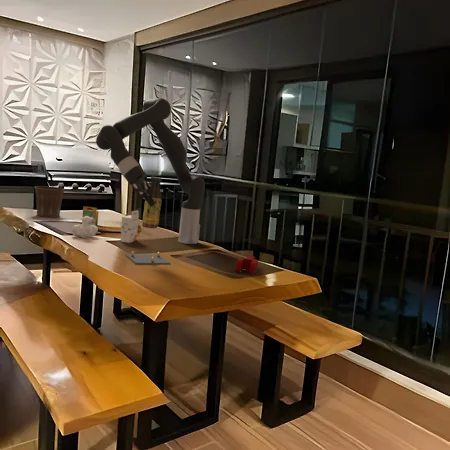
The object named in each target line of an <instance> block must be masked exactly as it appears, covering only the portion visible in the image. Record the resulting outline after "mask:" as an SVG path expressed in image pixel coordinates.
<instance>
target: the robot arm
mask: <svg viewBox="0 0 450 450" xmlns="http://www.w3.org/2000/svg"><path fill="white" fill-rule="evenodd" d="M171 112H172V107H171V103H170V102H169V101H168V100H167V99H165V98H161V97H160V98H150V99H146V100H145V101H144V102H143V105H142V111H139V112H137V113H134V114H131V115H127V116H125V117H124V118H122V119H120V120H118V121H117V122H115V123H114V124H113V125H112V124H111V125H110V124H105V125H103V126H102V127H101V128H100V130H99V132H98V134H97V136H96V139H95V144H96V146H97V147H98V148H99V149H100V150H103V151H109V150H110V158H111V160H112V162H113V163H114V164H115V166H116V167H117V168H118V170H119V172H120V173H121V175H122V176H123V177H124V178H125V180H126V182H127V183H128V184H129V185H130V186H131V188H132V189H133V190H134V191H135V192H136V194H137V195H138V196H139V197H140V198H141V199H143V200H146V201H147V202H148V204H149V205H150V206H151V207H152V206H153V205H155V202H154V200H153V199H152V198H151V196H149V193H148V191H149V189H150V186H151V181H147V180H146V176H147V173H146V172H145V171H144V169H143V168H142V166H141V165H140V163H139V162H138V161H137V160H136V159H135V158H134V157H133V156H132V154H131V153H130V151H129V150H128V149H127V147H126V144H125V141H124V139H125V138H127V137H130V136H131V135H133V134H134V133H136V132H137V131H140V130H141V129H144V128H145V127H147V126H149V125H150V127H151V129H152V130H153V131H154V133H155V135H156V137H157V139H158V141H159V142H160V144H161V146H162V150H163V151H164V153H165V155H166V157H167V159H168V161H169V162H170V164H171V167H172V169H173V171H174V173H175V176H176V179H177V181H178V184H179V187H180V189H181V190H182V192H184V193H185V194H186V195H187V194H188V195H189V196H188V199H187V200H185V201H182V203H181V210H180V211H181V212H180V221H179V229H178V230H179V232H178V239H177V240H178V242H179V243H180V244H187V245H195V244H197V243H198V244H199V240H200V228H201V224H200V213H201V207H202V204H203V202H204V195H205V191H206V190H205V189H206V184H205V180H204V178H203V177H201V176H196V175H192V174H191V173H190V171H189V169H188V167H187V149H186V147H185V145H184V143H183V141H182V140H181V138H180V137H179V136H178V135H177V133H175V132H174V131H173V130H172V129H171V128H169V126H168V125H167V124H166V123H165V121H164V120H166V119H168V118H169V116H170V115H171ZM162 203H163V202H162V200H161V204H162Z"/></svg>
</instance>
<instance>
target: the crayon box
mask: <svg viewBox="0 0 450 450" xmlns="http://www.w3.org/2000/svg"><path fill="white" fill-rule="evenodd" d="M85 216H89V217H90V218H93V220H91V223H89V224H90V225H94V226H96V227H97V228H98V222H99V211H98V208H97V207H93V206H83V207H82V216H81V217H82V218H83V217H85ZM82 222H83V220H81V225H82V224H83V223H82Z"/></svg>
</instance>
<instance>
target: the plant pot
mask: <svg viewBox="0 0 450 450" xmlns="http://www.w3.org/2000/svg"><path fill="white" fill-rule="evenodd" d="M34 189H35V196H36V197H35V198H36V199H35V201H36V216H39V217H42V218H43V217H44V218H50V217H51V218H58V217H60V214H61V207H62V202H63V197H64V192H65V190H66V188H62V187H57V186H56V187H55V186H49V185H48V186H46V185H43V186H42V185H38V186H37V185H35V186H34Z"/></svg>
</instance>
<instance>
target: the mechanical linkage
mask: <svg viewBox="0 0 450 450" xmlns="http://www.w3.org/2000/svg"><path fill="white" fill-rule="evenodd" d="M258 262H259V259H256V257H255V256H252V255H248V256H247V257H239V258H238V259H237V261H236V265H235V272H236V271H238V272H240V271H241V270H242V269H246V270H249V271H248V274H249V273H250V274H254V273H255V272H256V271H257V272H258ZM238 272H237V273H238ZM257 272H256V273H257ZM256 273H255V274H256ZM250 274H249V275H250ZM255 274H254V275H255Z"/></svg>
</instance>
